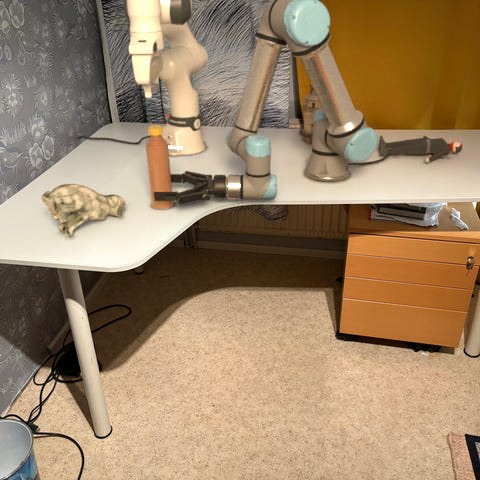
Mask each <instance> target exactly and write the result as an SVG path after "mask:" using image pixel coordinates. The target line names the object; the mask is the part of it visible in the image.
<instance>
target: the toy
mask: <svg viewBox="0 0 480 480" xmlns="http://www.w3.org/2000/svg"><path fill="white" fill-rule="evenodd" d="M378 143H379V144H378V147H379V156H380V157H384V156H386V155H387V154H391V155H395V156H396V155H417V156H423V155H426V154H430V155H429V156H428V157H425V162H426V163H431V162H434V161H435V160H436V159H439V158H446V157H448V156H449V154H450V152H451V153H455V154H459V153H461V152H462V150H463V147H464V146H463V143H462V142H460V141H452V142H450V143H448V142H447V141H446V140H445V139H444V138H443V137H438V138H429V137H428V136H427V135H420V136H419V138H412V139H404V140H399V141H390V142H386V141H385V139H384V137H383V135H382V134H381V135H379V141H378ZM448 144H450V145H448ZM432 154H433V155H432Z"/></svg>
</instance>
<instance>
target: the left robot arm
mask: <svg viewBox="0 0 480 480" xmlns="http://www.w3.org/2000/svg"><path fill="white" fill-rule="evenodd" d="M122 3H123V10H124V17H125V19H126V20H128V21H129V44H128V54H129V55H131V63H132V70H133V76H134V80H135V82H136V83H135V84H137V85H142V88H143V89H142V90H143V91H144V97H145V98H146V99H151V98H152V97H153V91H157V90H159V80H161V81H162V82H163V83H164V85H165V87H166V90H167V94H168V99H169V106H170V107H169V108H170V109H169V110H170V113H168V114H167V115H165V119H166V120H167V123H166V124H164V125H163V126H162V128H163V134H161V135H162V137H163V138H164V139H165V140H166V141H167V143H168V148H169V156H174V157H175V156H176V157H177V156H182V155H183V156H186V155H194V154H199V153H201V152H204V151H205V149H206V145H205V142H204V139H203V138H204V137H203V133H202V127H201V126H202V115H201V112H200V100H199V99H200V98H199V97H200V95H199V92H198V91H197V89H195V88H194V87H193V85H192V81H191V76H192V75H195V74H198V73H200V72H201V71H202V70H203V69H204V68H206V66H207V64H208V62H209V60H208V59H209V55H208V52H207V50H206V48H205V47H204V46H203V45H201V44H200V43H199V42H198V41H197V39H196V38H195V36H194V34H193V32H192V31H191V29H190V26H189V24H188V21H189V20H190V19H191V17H192V13H193V1H192V0H122ZM164 39H165V40H166V42H167V43H168V45H169V47H170V48H168V49H165V40H164ZM164 49H165V50H164ZM162 50H164V51H162ZM150 137H151V135H146V136H143V137H141V138H140V139H139V140H138V141H136V142H131V141H126V140H121V139H120V140H119V139H115V138H112V137H111V138H110V137H91V136H87V135H80V136H78V137H77V140H79V139H81V138H84V139H88V140H107V141H113V142H118V143H124V144H128V145H139V144H140V143H141V142H142V141H143V140H145V139H149V138H150Z"/></svg>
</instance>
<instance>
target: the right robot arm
mask: <svg viewBox="0 0 480 480" xmlns="http://www.w3.org/2000/svg"><path fill="white" fill-rule="evenodd" d="M259 19H260V20H259V23H258V25H257V28H256V33H255V37H254V38H255V40H256V46H255V49H254V52H253V57H252V61H251V64H250V68H249V70H248V74H247V79H246V82H245V85H244V89H243V93H242V96H241V101H240V104H239V108H238V111H237V115H236V119H235V121H234V125H233V127H232V128H231V129H229V131H228V132H227V133H226V135H225V144H226V146H227V147H228V148H229V150H230V151H231V152H232V153H234V154H235V155H237V156H238V157H239V158H240V159H241V160H242V161H243V162H244V163H245V174H227V175H226V174H214V175H213V174H204V173H200V172H194V171H189V170H185V171H184V172H183V173H171V184H185V183H186V184H189V185H191V186H194V187H192V188H189V189H186V190H183V191H177V190H176V191H172V192H154V200H155V201H173V202H176V204H177V205H178V206H181V205H187V204H190V203H191V204H192V203H196V202H202V201H209V200H211V199H210V196H211V195H212V196H213V198H214V200H225V199H228V200H235V201H237V200H260V201H261V200H262V201H263V200H273V199H275V198H276V197H277V193H278V178H277V175H276V174H272V173H271V162H272V161H271V160H272V146H271V145H272V144H271V139H270V138H269V136H266V135H263V134H258V131H259V127H260V123H261V121H262V118H263V114H264V111H265V107H266V103H267V100H268V97H269V93H270V91H271V86H272V84H273V80H274V76H275V73H276V71H277V67H278V64H279V60H280V56H281V53H282V51H283V49H285V48H287V47H288V49H289V51H290V53H291V56H292V57H294V58H298V59H299V60H300V62H301V64H302V66H303V68H304V71H305V73H306V75H307V77H308V80H309V82H310V84H312V86H313V88H314V90H315V92H316V95H317V97H318V99H319V101H320V103H321V106H322V108H323V109H319V110H317V111H316V112H315V113H314V118H313V135H312V143H311V153H310V155H309V158H308V160H307V157H306V158H305V160H307V161H305V164H306V166H305V169H304V170H305V171H304V173H305V175H306V176H307V178H309V179H311V180H313V181H314V180H315V181H316V182H317V181H318V182H324V183H325V182H326V183H335V182H341V181H343V180H346V179H348V177H350V166H362V165H371V164H375V163H376V164H377V163H379V162H382V161H384V160H386V159H387V158H388V157H389V156H391V155H392V154H386V155H384V156H383V157H382V158H380V159H376V160H373V161H367V160H368V159H369V158H370V157H372V155H373V154H374V153H375V151H376V148H377V147H378V145H379V144H378V143H379V135H378V133H377V132H376V131H375V130H374V128H373V127H371V126H370V127H369V126H368V124H367V121H366V119H365V117H364V114H363V113H362V111H361V110H358V109H356V108H355V106H354V104H353V102H352V99H351V97H350V94H349V92H348V89H347V87H346V84H345V82H344V79H343V77H342V74H341V72H340V69H339V67H338V65H337V62H336V60H335V58H334V56H333V53H332V51H331V47H330V46H329V42H330V39H331V33H330V26H331V16H330V13H329V10H328V8H327V7H326V5H325V4H324V3H323V2H321V1H320V0H270V1H269V2H268V3H267V5H266V6H265V8H264V10H263V12H262V14H261V16H260V18H259ZM450 144H451V143H448V145H450ZM348 161H349V162H348Z"/></svg>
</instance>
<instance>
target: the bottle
mask: <svg viewBox="0 0 480 480" xmlns="http://www.w3.org/2000/svg"><path fill="white" fill-rule="evenodd" d="M145 150H146V161H147V169H148V170H147V171H148V178H149V180H148V181H149V189H150V197H151V198H150V199H151V206H152V208H154V209H156V210H166V209H170V208H171V207H173V206H174V201H155V200H154V192H173V186H172V184H173V183H171V174H172V173H171V163H170V162H171V161H170V155H169V148H168V143H167V141H166V140H165V139H164V138H163V137H162V135H158V136H152V135H151V137H150V138H148V140H147V141H146V145H145Z"/></svg>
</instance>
